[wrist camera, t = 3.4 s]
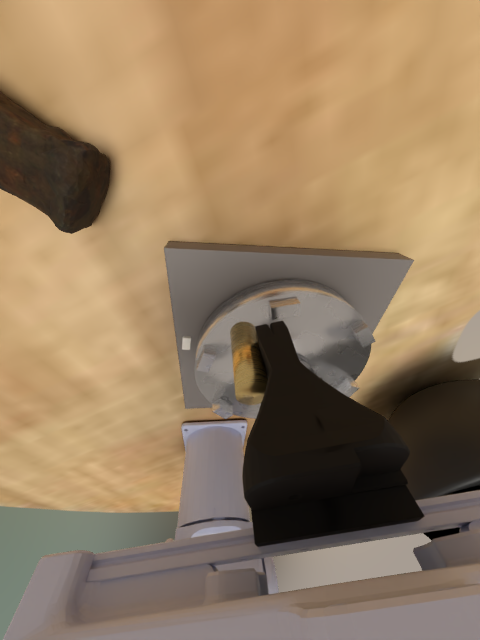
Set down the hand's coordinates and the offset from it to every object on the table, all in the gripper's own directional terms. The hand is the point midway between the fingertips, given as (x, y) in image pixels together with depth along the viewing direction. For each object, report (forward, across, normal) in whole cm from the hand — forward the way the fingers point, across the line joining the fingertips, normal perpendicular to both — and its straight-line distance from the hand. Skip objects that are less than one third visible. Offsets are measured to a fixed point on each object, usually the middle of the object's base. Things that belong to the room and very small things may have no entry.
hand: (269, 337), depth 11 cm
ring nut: (+3, -1, +5) cm, 6 cm away
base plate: (+5, -1, +5) cm, 7 cm away
